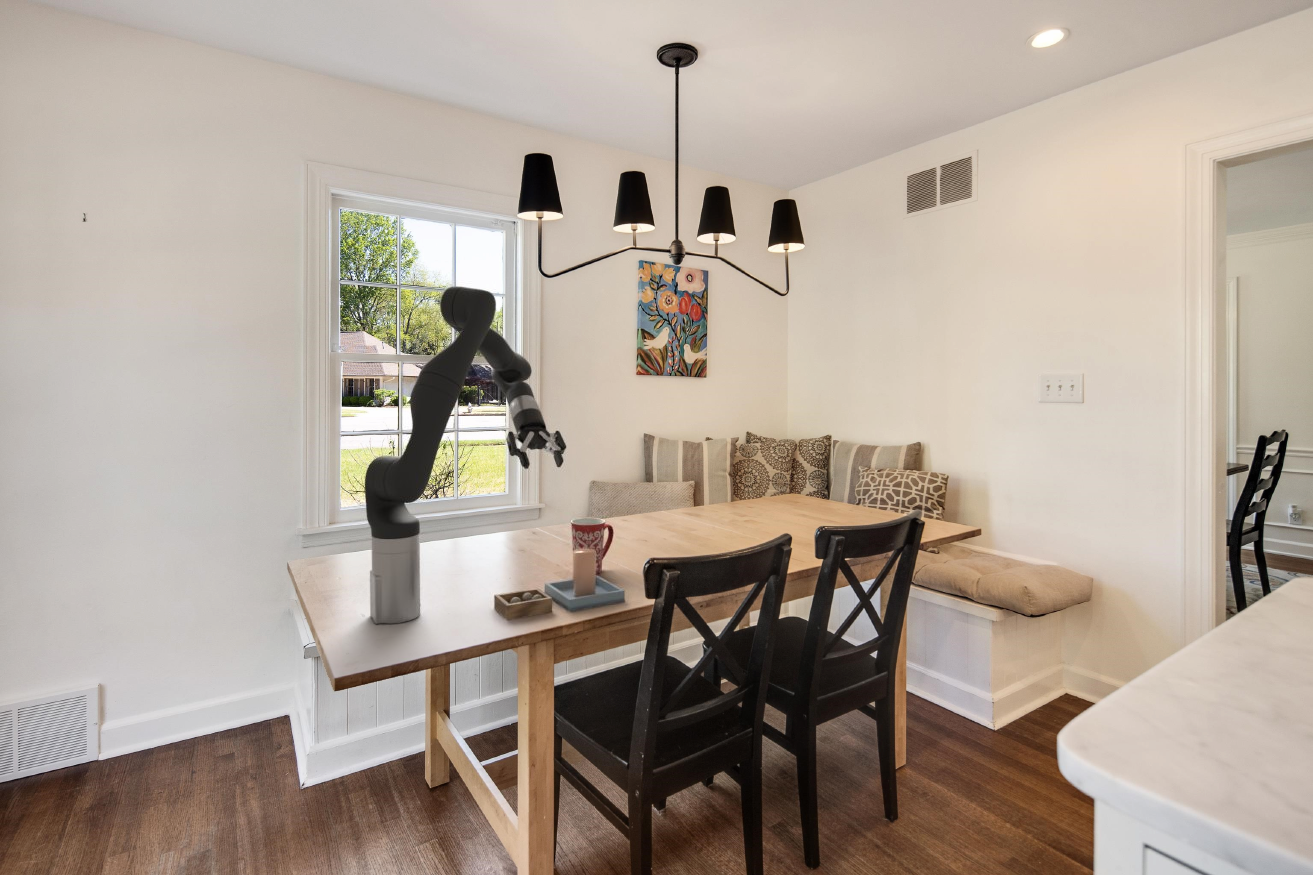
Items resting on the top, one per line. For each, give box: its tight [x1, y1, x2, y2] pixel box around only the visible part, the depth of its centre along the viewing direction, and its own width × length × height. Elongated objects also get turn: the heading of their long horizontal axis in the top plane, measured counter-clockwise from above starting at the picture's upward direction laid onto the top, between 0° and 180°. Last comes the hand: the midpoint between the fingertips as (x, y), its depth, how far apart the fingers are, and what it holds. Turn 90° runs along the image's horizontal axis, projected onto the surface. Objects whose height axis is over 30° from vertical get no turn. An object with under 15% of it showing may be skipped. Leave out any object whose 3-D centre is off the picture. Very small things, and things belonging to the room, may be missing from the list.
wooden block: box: [572, 548, 597, 597], centre depth 149 cm, size 5×5×10 cm
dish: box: [544, 574, 626, 612], centre depth 149 cm, size 14×14×3 cm
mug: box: [570, 517, 615, 575], centre depth 171 cm, size 13×9×14 cm
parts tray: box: [493, 587, 553, 621], centre depth 140 cm, size 10×8×3 cm
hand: (544, 466), depth 159 cm, fingers open, 8 cm apart
